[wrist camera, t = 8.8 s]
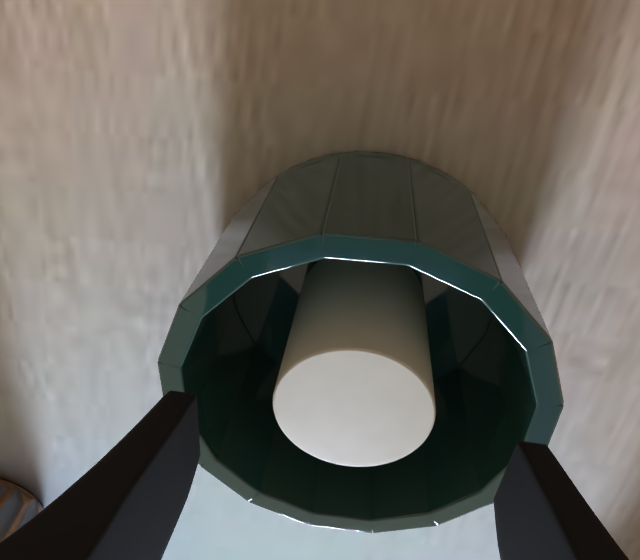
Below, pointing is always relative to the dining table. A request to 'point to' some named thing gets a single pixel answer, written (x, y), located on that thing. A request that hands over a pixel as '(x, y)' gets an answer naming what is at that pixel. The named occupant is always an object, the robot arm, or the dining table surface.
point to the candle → (357, 365)
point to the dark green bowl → (443, 334)
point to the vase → (15, 508)
